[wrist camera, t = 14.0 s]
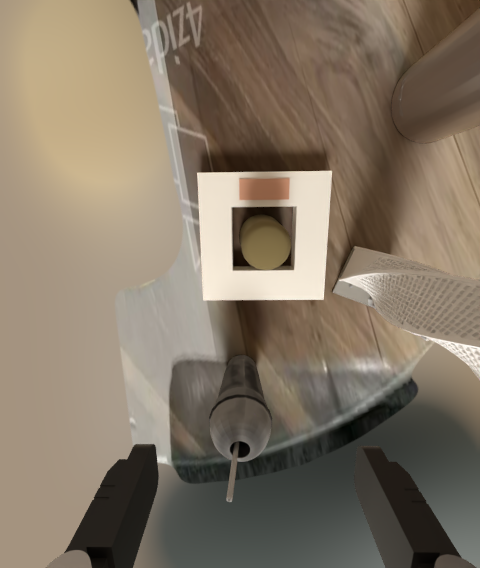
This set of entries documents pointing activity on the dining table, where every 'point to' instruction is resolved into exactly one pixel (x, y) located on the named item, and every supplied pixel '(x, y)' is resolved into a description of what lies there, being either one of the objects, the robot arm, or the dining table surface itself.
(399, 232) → the dining table surface
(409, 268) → the skyscraper
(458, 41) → the robot arm
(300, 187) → the hole board
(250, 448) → the beverage cup
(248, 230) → the cork
